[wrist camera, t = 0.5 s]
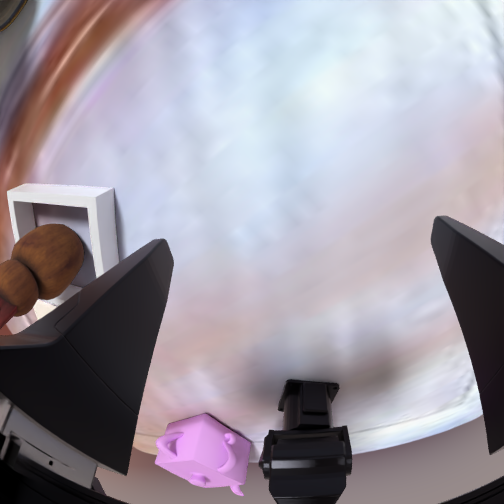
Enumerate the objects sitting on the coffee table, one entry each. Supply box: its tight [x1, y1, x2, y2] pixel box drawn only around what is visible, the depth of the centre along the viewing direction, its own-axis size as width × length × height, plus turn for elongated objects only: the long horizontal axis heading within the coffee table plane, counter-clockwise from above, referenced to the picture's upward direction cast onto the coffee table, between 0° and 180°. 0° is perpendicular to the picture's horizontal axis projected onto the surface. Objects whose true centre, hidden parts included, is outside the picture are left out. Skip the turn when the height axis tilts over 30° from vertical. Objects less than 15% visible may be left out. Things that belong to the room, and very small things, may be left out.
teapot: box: [155, 413, 251, 496], centre depth 35 cm, size 18×14×10 cm
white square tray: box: [7, 184, 119, 305], centre depth 26 cm, size 13×13×3 cm
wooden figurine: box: [0, 224, 84, 329], centre depth 21 cm, size 7×6×15 cm
